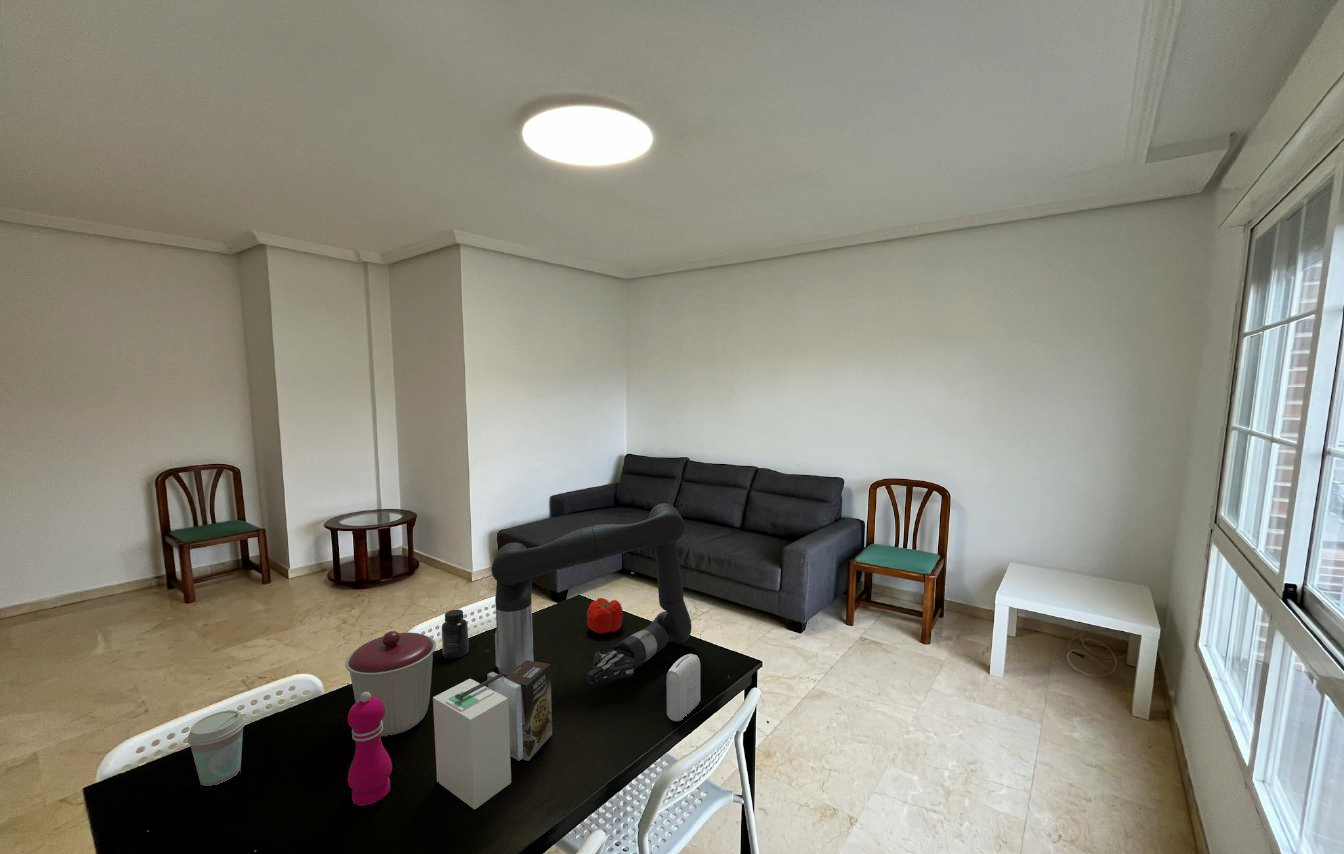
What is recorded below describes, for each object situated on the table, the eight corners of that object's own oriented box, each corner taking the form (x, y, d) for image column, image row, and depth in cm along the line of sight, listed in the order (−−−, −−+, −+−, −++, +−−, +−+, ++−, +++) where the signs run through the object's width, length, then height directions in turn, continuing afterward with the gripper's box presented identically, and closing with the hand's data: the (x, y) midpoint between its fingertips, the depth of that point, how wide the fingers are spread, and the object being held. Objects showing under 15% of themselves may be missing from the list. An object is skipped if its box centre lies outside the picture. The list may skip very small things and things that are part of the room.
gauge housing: (437, 781, 105) (432, 695, 104) (473, 757, 112) (469, 676, 110) (474, 809, 98) (470, 717, 97) (511, 782, 105) (507, 695, 103)
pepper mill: (360, 781, 105) (354, 682, 104) (399, 779, 106) (394, 680, 104) (341, 811, 98) (334, 705, 97) (383, 808, 99) (376, 702, 97)
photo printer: (687, 696, 133) (687, 647, 132) (703, 701, 131) (702, 651, 129) (664, 718, 124) (663, 666, 123) (680, 724, 122) (679, 671, 121)
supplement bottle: (474, 650, 156) (472, 609, 155) (455, 661, 150) (453, 619, 149) (456, 645, 159) (454, 605, 158) (437, 656, 153) (435, 615, 152)
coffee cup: (202, 803, 100) (196, 741, 99) (184, 785, 105) (179, 726, 104) (256, 774, 108) (252, 716, 107) (238, 759, 112) (233, 703, 111)
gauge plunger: (447, 770, 105) (443, 688, 104) (495, 740, 114) (492, 664, 113) (475, 790, 100) (472, 704, 99) (523, 757, 109) (520, 678, 107)
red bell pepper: (579, 633, 166) (578, 604, 166) (604, 618, 176) (603, 591, 176) (607, 642, 161) (606, 612, 160) (631, 626, 171) (630, 598, 170)
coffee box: (529, 761, 110) (526, 685, 109) (502, 754, 113) (499, 679, 111) (553, 734, 119) (551, 663, 118) (528, 728, 121) (526, 658, 120)
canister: (453, 720, 124) (448, 630, 123) (366, 761, 111) (360, 661, 109) (419, 690, 137) (415, 608, 135) (338, 723, 124) (332, 633, 122)
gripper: (617, 629, 147) (569, 655, 133) (655, 642, 140) (609, 672, 126) (617, 655, 148) (570, 685, 134) (656, 670, 140) (610, 703, 126)
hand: (589, 679), depth 130 cm, fingers closed
